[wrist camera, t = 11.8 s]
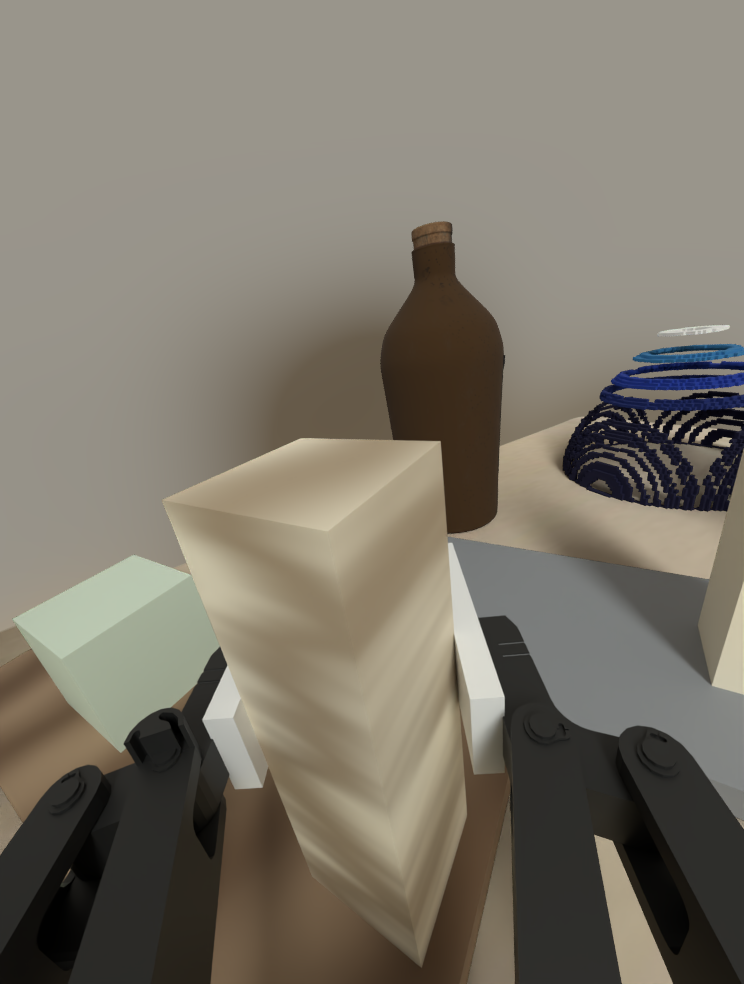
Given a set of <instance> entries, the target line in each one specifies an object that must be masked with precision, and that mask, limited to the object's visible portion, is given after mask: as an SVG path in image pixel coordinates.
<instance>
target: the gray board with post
mask: <svg viewBox="0 0 744 984" xmlns="http://www.w3.org/2000/svg"><path fill="white" fill-rule="evenodd" d="M447 538H448V543H453V546H454V549H455V552H456V555H457V558H458V561H459V564H460V567H461V570H462V573H463V576H464V579H465V582H466V585H467V588H468V591H469V593H470V596H471V599H472V602H473V605H474V608H475V611H476V614H477V617H478V618H481V617H492V616H502V615H505V616H506V617H507V618H509V619H510V620H511V621H512V622H513V623H514V624H515V625H516V626H517V627H518V629H519V631H520V633H521V635H522V638H523V640H524V643H525V644H526V646H527V648H528V651H529V653H530V656H531V657H532V659H533V661H534V663H535V666H536V668H537V670H538V672H539V674H540V676H541V679H542V681H543V683H544V685H545V687H546V689H547V691H548V694H549V696H550V698H551V700H552V702H553V703H554V705H555V707H556V708H557V709H558V710H559V711H560V712H561V714H563V715H564V716H565V717H566V718H567V719H569V720H570V721H571V722H573V723H575V724H577V725H579V726H581V727H583V728H586V729H589V730H592V731H596V732H600V733H605V734H609V735H613V736H617V737H620V734H621V733H622V732H623V731H624V730H625V729H626V728H629V727H633V726H637V725H639V726H646V727H652V728H655V729H657V730H660V731H662V732H664V733H667V734H668V735H670V736H671V737H672V738H674V739H675V740H677V741H678V742H680V743H681V744H682V745H683V746H684V747H685V748H686V749H687V750H688V752H689V753H690V754H691V755H692V756H693V757H694V759H695V760H696V762H697V763H698V764H699V766H700V767H701V769H702V770H703V772H704V773H705V774H706V776H707V777H708V779H709V780H710V782H711V783H712V785H713V786H714V787H715V789H716V790H717V792H718V793H719V795H720V796H721V797H722V799H723V800H724V802H725V803H726V805H727V806H728V808H729V809H730V810H731V812H732V813H733V815H734V816H735V817H737V818H739V819H742V820H744V449H743V453H742V457H741V461H740V465H739V469H738V472H737V476H736V480H735V484H734V488H733V492H732V495H731V499H730V503H729V507H728V511H727V515H726V518H725V522H724V526H723V530H722V534H721V538H720V541H719V545H718V549H717V553H716V557H715V561H714V564H713V568H712V572H711V576H710V580H709V579H703V578H697V577H691V576H685V575H679V574H673V573H666V572H660V571H654V570H648V569H642V568H636V567H630V566H624V565H617V564H611V563H605V562H599V561H593V560H587V559H581V558H575V557H569V556H562V555H556V554H550V553H544V552H538V551H532V550H526V549H520V548H513V547H507V546H501V545H495V544H489V543H483V542H477V541H471V540H464V539H458V538H452V537H447Z"/></svg>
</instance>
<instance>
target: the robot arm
mask: <svg viewBox="0 0 744 984" xmlns="http://www.w3.org/2000/svg"><path fill="white" fill-rule="evenodd" d="M448 552H449V566H450V580H451V594H452V608H453V622H454V641H455V656H456V670H457V684H458V698H459V706H460V710H461V715H462V720H463V725H464V729H465V734H466V739H467V744H468V748H469V753H470V758H471V763H472V767H473V772H474V775H476V774H493V773H505V765H506V768H507V772H508V775H509V779H510V811H511V841H512V880H513V918H514V956H515V984H622V983H621V977H620V972H619V967H618V961H617V956H616V950H615V945H614V940H613V934H612V929H611V924H610V918H609V913H608V907H607V902H606V897H605V891H604V886H603V880H602V875H601V870H600V864H599V859H598V853H597V848H596V843H595V837H594V835H597V836H600V837H603V838H606V839H609V840H612V841H613V842H614V845H615V847H616V850H617V852H618V854H619V857H620V859H621V861H622V864H623V866H624V868H625V871H626V873H627V875H628V878H629V880H630V883H631V885H632V887H633V890H634V892H635V894H636V897H637V899H638V901H639V904H640V906H641V908H642V911H643V913H644V916H645V918H646V920H647V923H648V925H649V927H650V930H651V932H652V934H653V937H654V939H655V942H656V944H657V946H658V949H659V951H660V953H661V956H662V958H663V960H664V963H665V965H666V967H667V970H668V972H669V975H670V977H671V979H672V982H673V984H744V829H743V828H742V826H741V825H740V823H739V822H738V820H737V819H736V818H735V816H734V815H733V813H732V812H731V810H730V809H729V808H728V806H727V805H726V803H725V802H724V800H723V799H722V797H721V796H720V795H719V793H718V792H717V790H716V789H715V787H714V786H713V785H712V783H711V782H710V780H709V779H708V777H707V776H706V774H705V773H704V772H703V770H702V769H701V767H700V766H699V764H698V763H697V762H696V760H695V759H694V757H693V756H692V755H691V754H690V753H689V752H688V750H687V749H686V748H685V747H684V746H683V745H682V744H681V743H680V742H678V741H677V740H675V739H674V738H672V737H671V736H670V735H668V734H667V733H664V732H662V731H660V730H657V729H655V728H652V727H646V726H639V725H637V726H633V727H629V728H626V729H625V730H624V731H623V732H622V733H621V734H620V737H617V736H613V735H609V734H605V733H600V732H596V731H592V730H589V729H586V728H583V727H581V726H579V725H577V724H575V723H573V722H571V721H570V720H569V719H567V718H566V717H565V716H564V715H563V714H561V712H560V711H559V710H558V709H557V708H556V707H555V705H554V703H553V702H552V700H551V698H550V696H549V694H548V691H547V689H546V687H545V685H544V683H543V681H542V679H541V676H540V674H539V672H538V670H537V668H536V666H535V663H534V661H533V659H532V657H531V656H530V653H529V651H528V648H527V646H526V644H525V643H524V640H523V638H522V635H521V633H520V631H519V629H518V627H517V626H516V625H515V624H514V623H513V622H512V621H511V620H510V619H509V618H507V617H506V616H505V615H502V616H492V617H481V618H478V617H477V614H476V611H475V608H474V605H473V602H472V599H471V596H470V593H469V591H468V588H467V585H466V582H465V579H464V576H463V573H462V570H461V567H460V564H459V561H458V558H457V555H456V552H455V549H454V546H453V543H448ZM123 744H124V746H125V747H126V749H127V750H128V752H129V754H130V755H131V757H132V759H133V760H134V762H135V763H133V764H130V765H128V766H125V767H123V768H120V769H117V770H115V771H112V772H110V773H107V774H105V775H103V773H102V772H101V770H100V769H99V768H98V767H97V766H95V765H85V766H81V767H78V768H76V769H74V770H72V771H70V772H69V773H67V774H65V775H63V776H62V777H61V778H60V779H59V780H57V781H56V782H55V783H54V784H53V785H52V786H51V787H50V788H49V789H48V790H47V791H46V792H45V794H44V795H43V796H42V797H41V798H40V800H39V801H38V802H37V804H36V805H35V807H34V808H33V810H32V811H31V812H30V814H29V815H28V817H27V818H26V820H25V821H24V822H23V824H22V825H21V827H20V828H19V830H18V831H17V832H16V834H15V835H14V837H13V838H12V840H11V841H10V842H9V844H8V845H7V847H6V848H5V849H4V851H3V852H2V854H1V855H0V984H210V983H211V972H212V962H213V951H214V940H215V929H216V919H217V908H218V897H219V886H220V875H221V865H222V854H223V843H224V832H225V822H226V811H227V808H226V799H225V797H224V795H223V792H224V789H225V787H226V784H227V781H228V778H230V780H231V782H232V784H233V786H234V788H235V789H249V788H263V785H264V781H265V777H266V773H267V769H268V764H267V762H266V759H265V757H264V754H263V752H262V749H261V747H260V744H259V742H258V739H257V737H256V734H255V732H254V729H253V727H252V724H251V722H250V719H249V717H248V714H247V712H246V709H245V707H244V704H243V702H242V699H241V697H240V695H239V692H238V690H237V687H236V685H235V682H234V680H233V677H232V675H231V672H230V670H229V667H228V665H227V662H226V660H225V657H224V655H223V652H222V650H221V647H219V648H218V649H217V650H216V651H215V652H214V653H213V654H212V655H211V657H210V658H209V660H208V662H207V664H206V666H205V668H204V672H203V673H202V674H201V676H200V677H199V679H198V681H197V685H195V687H194V689H193V691H192V693H191V695H190V696H189V698H188V700H187V702H186V704H185V706H184V708H183V710H182V712H181V711H180V710H179V709H176V708H172V707H171V708H164V709H160V710H158V711H156V712H153V713H151V714H149V715H148V716H147V717H145V718H144V719H143V720H141V721H140V722H139V723H138V724H137V725H136V726H135V727H134V728H133V729H132V730H131V731H130V733H129V734H128V736H127V738H126V740H125V741H124V743H123ZM69 869H70V872H69V873H68V871H69ZM67 873H68V875H67ZM66 875H67V876H66ZM65 876H66V878H65ZM64 878H65V879H64ZM63 880H64V881H63Z"/></svg>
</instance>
